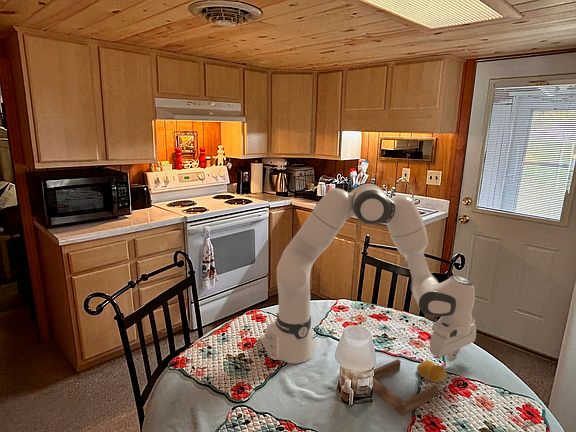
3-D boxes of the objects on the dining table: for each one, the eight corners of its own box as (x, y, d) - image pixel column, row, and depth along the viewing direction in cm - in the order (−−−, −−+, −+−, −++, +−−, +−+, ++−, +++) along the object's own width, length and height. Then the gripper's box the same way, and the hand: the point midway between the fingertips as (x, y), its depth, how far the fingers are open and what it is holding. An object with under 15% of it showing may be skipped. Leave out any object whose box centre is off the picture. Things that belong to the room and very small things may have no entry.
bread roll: (438, 387, 124) (439, 376, 124) (413, 373, 131) (414, 363, 130) (451, 376, 130) (452, 366, 129) (426, 363, 136) (427, 353, 135)
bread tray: (363, 383, 126) (364, 373, 125) (397, 368, 133) (397, 359, 132) (402, 415, 112) (403, 405, 111) (437, 396, 120) (438, 387, 119)
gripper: (466, 311, 139) (462, 346, 143) (428, 326, 129) (424, 363, 132) (483, 319, 134) (478, 355, 138) (444, 335, 124) (440, 373, 127)
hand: (451, 359), depth 135 cm, fingers closed
